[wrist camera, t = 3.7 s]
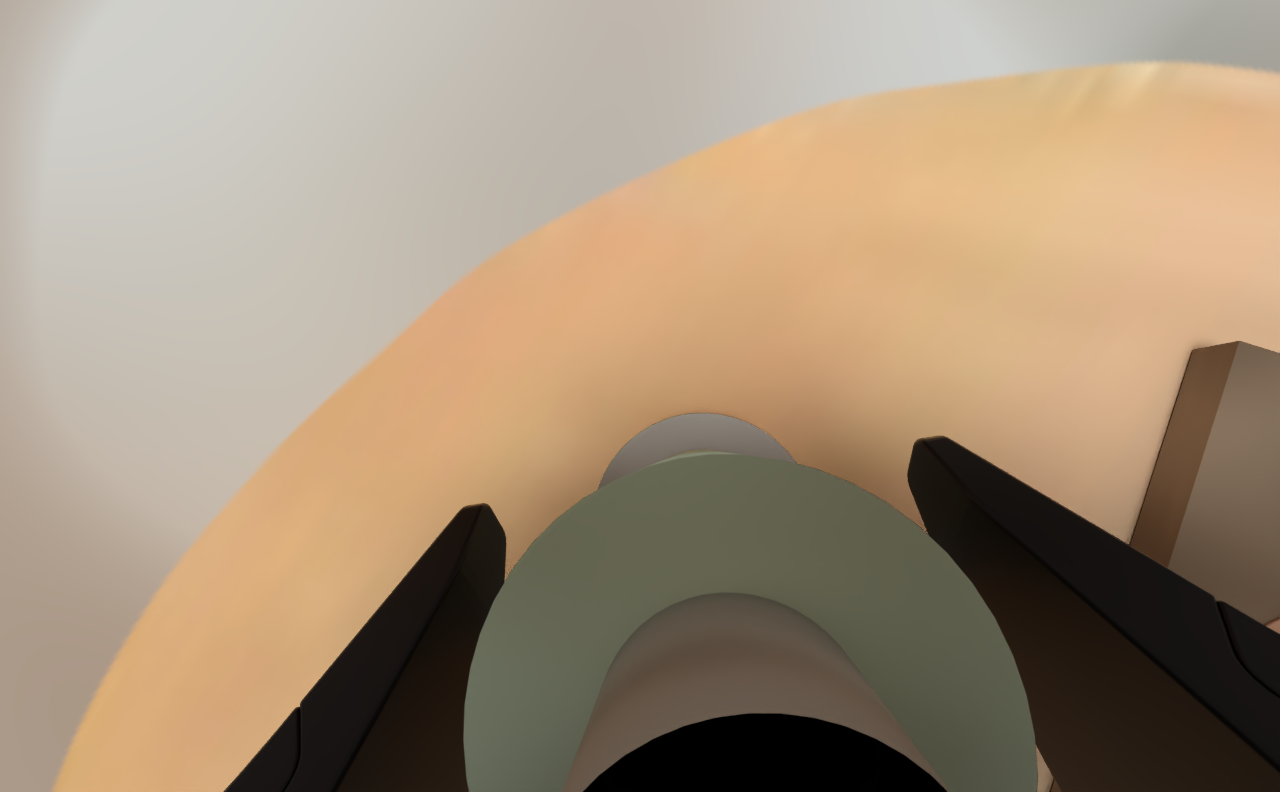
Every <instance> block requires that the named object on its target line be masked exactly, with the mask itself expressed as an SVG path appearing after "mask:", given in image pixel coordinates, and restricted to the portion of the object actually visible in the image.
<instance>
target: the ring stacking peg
mask: <svg viewBox="0 0 1280 792" xmlns="http://www.w3.org/2000/svg"><path fill="white" fill-rule="evenodd" d="M463 742H464V754H465V766H466V778H467V783H468V788H469V792H1037V785H1038V771H1037V758H1036V744H1035V734H1034V729H1033V724H1032V719H1031V714H1030V710H1029V705H1028V700H1027V695H1026V692H1025V689H1024V686H1023V683H1022V680H1021V677H1020V674H1019V671H1018V668H1017V666H1016V663H1015V660H1014V657H1013V654H1012V652H1011V650H1010V648H1009V646H1008V644H1007V642H1006V640H1005V638H1004V636H1003V634H1002V632H1001V629H1000V627H999V625H998V623H997V621H996V619H995V617H994V616H993V614H992V613H991V611H990V610H989V608H988V606H987V605H986V603H985V602H984V600H983V599H982V597H981V596H980V594H979V593H978V591H977V589H976V588H975V586H974V585H973V583H972V582H971V581H970V580H969V579H968V577H967V576H966V575H965V574H964V573H963V571H962V570H961V569H960V568H959V567H958V565H957V564H956V563H955V562H954V561H953V559H952V558H951V557H950V556H949V555H948V553H947V552H946V551H945V550H944V549H943V548H941V547H940V546H939V545H938V544H937V543H936V542H935V541H934V540H933V539H932V538H931V537H930V536H929V535H928V534H927V533H925V532H924V531H923V530H922V529H921V528H920V527H919V526H918V525H917V524H915V523H914V522H913V521H911V520H910V519H909V518H907V517H906V516H904V515H903V514H902V513H900V512H899V511H898V510H896V509H895V508H894V507H892V506H891V505H889V504H888V503H887V502H885V501H883V500H882V499H880V498H878V497H876V496H874V495H873V494H871V493H869V492H867V491H865V490H864V489H862V488H860V487H858V486H856V485H855V484H853V483H850V482H848V481H846V480H843V479H841V478H838V477H836V476H833V475H831V474H828V473H826V472H823V471H821V470H818V469H815V468H811V467H807V466H804V465H800V464H797V463H796V461H795V460H794V459H793V458H792V456H791V455H790V454H789V453H788V451H787V450H786V449H785V448H784V447H783V446H781V445H780V444H779V443H778V442H777V441H776V440H775V439H774V438H772V437H771V436H770V435H768V434H767V433H766V432H764V431H762V430H761V429H759V428H757V427H755V426H754V425H752V424H750V423H747V422H745V421H742V420H740V419H737V418H733V417H729V416H725V415H720V414H712V413H692V414H685V415H679V416H675V417H672V418H668V419H665V420H663V421H660V422H658V423H655V424H653V425H651V426H650V427H648V428H646V429H645V430H643V431H641V432H640V433H638V434H637V435H636V436H635V437H633V438H632V439H631V440H630V441H629V442H628V443H627V444H626V445H625V446H624V447H623V448H622V449H621V450H620V451H619V452H618V453H617V455H616V456H615V457H614V459H613V460H612V461H611V463H610V465H609V466H608V468H607V470H606V472H605V473H604V475H603V478H602V480H601V483H600V485H599V488H598V490H597V491H595V492H593V493H592V494H590V495H588V496H586V497H585V498H583V499H582V500H580V501H579V502H578V503H577V504H575V505H574V506H573V507H571V508H570V509H569V510H567V511H566V512H565V513H564V514H562V515H561V516H560V517H558V518H557V519H556V520H555V521H554V522H553V523H552V524H551V525H550V526H549V527H548V528H547V529H546V530H545V531H544V532H543V533H542V534H541V535H540V536H539V537H538V538H537V539H536V540H535V541H534V542H533V543H532V544H531V546H530V547H529V548H528V549H527V551H526V552H525V553H524V555H523V556H522V557H521V559H520V560H519V561H518V563H517V564H516V565H515V567H514V568H513V569H512V570H511V572H510V574H509V576H508V577H507V579H506V581H505V582H504V584H503V586H502V588H501V589H500V591H499V593H498V595H497V596H496V598H495V600H494V602H493V604H492V606H491V609H490V611H489V614H488V616H487V618H486V621H485V623H484V625H483V628H482V630H481V632H480V636H479V639H478V643H477V646H476V650H475V653H474V657H473V660H472V664H471V667H470V673H469V680H468V686H467V693H466V699H465V711H464V739H463Z"/></svg>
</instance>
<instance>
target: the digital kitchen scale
mask: <svg viewBox="0 0 1280 792" xmlns="http://www.w3.org/2000/svg"><path fill="white" fill-rule="evenodd" d="M1130 546H1132V547H1133V548H1135V549H1137V550H1138V551H1140V552H1142V553H1143V554H1145V555H1147V556H1148V557H1150V558H1152V559H1153V560H1155V561H1157V562H1158V563H1160V564H1162V565H1164V566H1165V567H1167V568H1169V569H1170V570H1172V571H1174V572H1175V573H1177V574H1179V575H1180V576H1182V577H1184V578H1185V579H1187V580H1189V581H1191V582H1192V583H1194V584H1196V585H1197V586H1199V587H1201V588H1202V589H1204V590H1206V591H1207V592H1209V593H1211V594H1212V595H1213V596H1214V597H1215V599H1216V600H1222V601H1225V602H1226V603H1228V604H1230V605H1231V606H1233V607H1235V608H1236V609H1238V610H1240V611H1241V612H1243V613H1245V614H1247V615H1248V616H1250V617H1252V618H1253V619H1255V620H1257V621H1258V622H1260V623H1262V624H1263V625H1265V626H1267V627H1269V628H1270V629H1272V630H1274V631H1276V632H1277V633H1279V634H1280V353H1277V352H1274V351H1271V350H1267V349H1264V348H1261V347H1258V346H1255V345H1251V344H1248V343H1245V342H1242V341H1236V342H1231V343H1226V344H1221V345H1215V346H1210V347H1205V348H1200V349H1195V350H1193V352H1192V355H1191V358H1190V361H1189V364H1188V367H1187V370H1186V373H1185V376H1184V380H1183V383H1182V386H1181V389H1180V392H1179V395H1178V398H1177V401H1176V404H1175V408H1174V411H1173V414H1172V417H1171V420H1170V423H1169V426H1168V429H1167V432H1166V435H1165V439H1164V442H1163V445H1162V448H1161V451H1160V454H1159V457H1158V460H1157V463H1156V467H1155V470H1154V473H1153V476H1152V479H1151V482H1150V485H1149V488H1148V491H1147V495H1146V498H1145V501H1144V504H1143V507H1142V510H1141V513H1140V516H1139V519H1138V522H1137V526H1136V529H1135V532H1134V535H1133V538H1132V541H1131V544H1130ZM1051 792H1061V791H1060V789H1059V787H1058V785H1057V783H1056V781H1055V780H1054V783H1053V787H1052V790H1051Z"/></svg>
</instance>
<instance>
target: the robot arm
mask: <svg viewBox="0 0 1280 792" xmlns="http://www.w3.org/2000/svg"><path fill="white" fill-rule="evenodd" d="M907 478H908V483H909V487H910V490H911V492H912V495H913V497H914V500H915V502H916V505H917V507H918V510H919V512H920V515H921V517H922V520H923V522H924V525H925V527H926V530H927V532H928V535H929V536H930V537H931V538H932V539H933V540H934V541H935V542H936V543H937V544H938V545H939V546H940V547H941V548H943V549H944V550H945V551H946V552H947V553H948V555H949V556H950V557H951V558H952V559H953V561H954V562H955V563H956V564H957V565H958V567H959V568H960V569H961V570H962V571H963V573H964V574H965V575H966V576H967V577H968V579H969V580H970V581H971V582H972V583H973V585H974V586H975V588H976V589H977V591H978V593H979V594H980V596H981V597H982V599H983V600H984V602H985V603H986V605H987V606H988V608H989V610H990V611H991V613H992V614H993V616H994V617H995V619H996V621H997V623H998V625H999V627H1000V629H1001V632H1002V634H1003V636H1004V638H1005V640H1006V642H1007V644H1008V646H1009V648H1010V650H1011V652H1012V654H1013V657H1014V660H1015V663H1016V666H1017V668H1018V671H1019V674H1020V677H1021V680H1022V683H1023V686H1024V689H1025V692H1026V695H1027V700H1028V705H1029V710H1030V714H1031V719H1032V724H1033V729H1034V734H1035V744H1036V746H1037V748H1038V750H1039V751H1040V753H1041V755H1042V757H1043V759H1044V761H1045V763H1046V765H1047V766H1048V768H1049V770H1050V772H1051V774H1052V776H1053V778H1054V779H1055V781H1056V783H1057V785H1058V787H1059V789H1060V791H1061V792H1280V634H1279V633H1277V632H1276V631H1274V630H1272V629H1270V628H1269V627H1267V626H1265V625H1263V624H1262V623H1260V622H1258V621H1257V620H1255V619H1253V618H1252V617H1250V616H1248V615H1247V614H1245V613H1243V612H1241V611H1240V610H1238V609H1236V608H1235V607H1233V606H1231V605H1230V604H1228V603H1226V602H1225V601H1222V600H1216V599H1215V597H1214V596H1213V595H1212V594H1211V593H1209V592H1207V591H1206V590H1204V589H1202V588H1201V587H1199V586H1197V585H1196V584H1194V583H1192V582H1191V581H1189V580H1187V579H1185V578H1184V577H1182V576H1180V575H1179V574H1177V573H1175V572H1174V571H1172V570H1170V569H1169V568H1167V567H1165V566H1164V565H1162V564H1160V563H1158V562H1157V561H1155V560H1153V559H1152V558H1150V557H1148V556H1147V555H1145V554H1143V553H1142V552H1140V551H1138V550H1137V549H1135V548H1133V547H1132V546H1130V545H1128V544H1126V543H1125V542H1123V541H1121V540H1120V539H1118V538H1116V537H1115V536H1113V535H1111V534H1110V533H1108V532H1106V531H1105V530H1103V529H1101V528H1100V527H1098V526H1096V525H1094V524H1093V523H1091V522H1089V521H1088V520H1086V519H1084V518H1083V517H1081V516H1079V515H1078V514H1076V513H1074V512H1073V511H1071V510H1069V509H1068V508H1066V507H1064V506H1062V505H1061V504H1059V503H1057V502H1056V501H1054V500H1052V499H1051V498H1049V497H1047V496H1046V495H1044V494H1042V493H1041V492H1039V491H1037V490H1035V489H1034V488H1032V487H1030V486H1029V485H1027V484H1025V483H1024V482H1022V481H1020V480H1019V479H1017V478H1015V477H1014V476H1012V475H1010V474H1009V473H1007V472H1005V471H1003V470H1002V469H1000V468H998V467H997V466H995V465H993V464H992V463H990V462H988V461H987V460H985V459H983V458H982V457H980V456H978V455H977V454H975V453H973V452H971V451H970V450H968V449H966V448H965V447H963V446H961V445H960V444H958V443H956V442H955V441H953V440H951V439H949V438H948V437H945V436H934V437H927V438H920V439H918V440H917V441H916V442H915V443H914V446H913V450H912V454H911V459H910V463H909V468H908V473H907ZM505 560H506V536H505V532H504V530H503V528H502V526H501V524H500V523H499V521H498V519H497V517H496V516H495V514H494V512H493V510H492V509H491V507H490V506H489V505H488V504H486V503H482V504H475V505H468V506H465V507H463V508H462V509H461V510H460V511H459V512H458V513H457V514H456V516H455V517H454V518H453V519H452V520H451V522H450V523H449V524H448V525H447V526H446V528H445V529H444V530H443V531H442V532H441V534H440V535H439V536H438V537H437V538H436V540H435V541H434V542H433V543H432V544H431V546H430V547H429V548H428V549H427V550H426V552H425V553H424V554H423V555H422V556H421V558H420V559H419V560H418V561H417V562H416V564H415V565H414V566H413V567H412V569H411V570H410V571H409V572H408V573H407V575H406V576H405V577H404V578H403V579H402V581H401V582H400V583H399V584H398V585H397V587H396V588H395V589H394V590H393V591H392V593H391V594H390V595H389V596H388V597H387V599H386V600H385V601H384V602H383V603H382V605H381V606H380V607H379V608H378V609H377V611H376V612H375V613H374V614H373V615H372V617H371V618H370V619H369V620H368V621H367V623H366V624H365V625H364V626H363V627H362V629H361V630H360V631H359V632H358V634H357V635H356V636H355V637H354V638H353V640H352V641H351V642H350V643H349V644H348V646H347V647H346V648H345V649H344V650H343V652H342V653H341V654H340V655H339V656H338V658H337V659H336V660H335V661H334V662H333V664H332V665H331V666H330V667H329V668H328V670H327V671H326V672H325V673H324V674H323V676H322V677H321V678H320V679H319V680H318V682H317V683H316V684H315V685H314V686H313V688H312V689H311V690H310V691H309V692H308V694H307V695H306V696H305V697H304V699H303V700H302V701H301V703H300V707H296V708H295V709H294V710H293V711H292V713H291V714H290V715H289V716H288V717H287V719H286V720H285V721H284V722H283V724H282V725H281V726H280V727H279V728H278V730H277V731H276V732H275V733H274V734H273V735H272V737H271V738H270V739H269V740H268V741H267V742H266V744H265V745H264V746H263V747H262V748H261V749H260V751H259V752H258V753H257V754H256V755H255V756H254V758H253V759H252V760H251V761H250V762H249V763H248V765H247V766H246V767H245V768H244V769H243V770H242V772H241V773H240V774H239V775H238V776H237V777H236V778H235V779H234V781H233V782H232V783H231V784H230V785H229V786H228V787H227V788H226V789H225V790H224V792H469V788H468V783H467V778H466V766H465V754H464V742H463V739H464V711H465V699H466V693H467V686H468V680H469V673H470V667H471V664H472V660H473V657H474V653H475V650H476V646H477V643H478V639H479V636H480V632H481V630H482V628H483V625H484V623H485V621H486V618H487V616H488V614H489V611H490V609H491V606H492V604H493V602H494V600H495V598H496V596H497V595H498V593H499V591H500V589H501V588H502V586H503V584H504V581H505Z"/></svg>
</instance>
